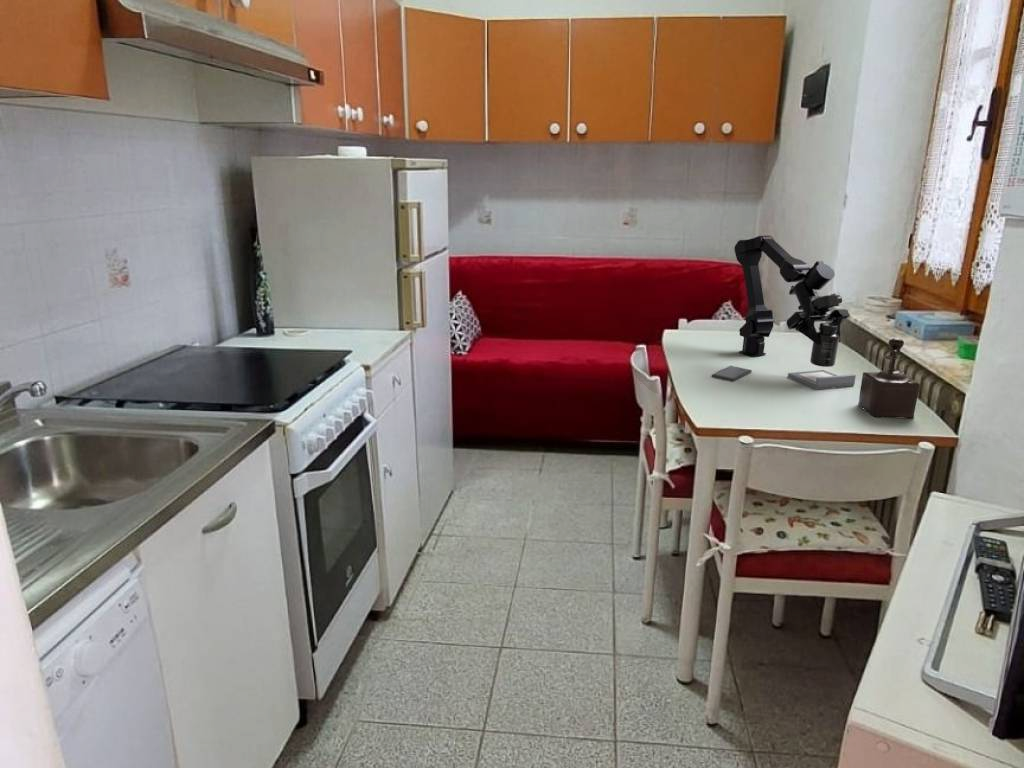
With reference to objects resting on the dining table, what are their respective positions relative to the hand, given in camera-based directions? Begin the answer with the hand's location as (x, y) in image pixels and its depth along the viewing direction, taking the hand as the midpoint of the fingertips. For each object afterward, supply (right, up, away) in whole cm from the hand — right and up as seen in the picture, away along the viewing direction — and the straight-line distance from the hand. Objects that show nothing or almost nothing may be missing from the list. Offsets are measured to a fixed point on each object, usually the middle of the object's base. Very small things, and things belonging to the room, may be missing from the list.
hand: (829, 343), depth 206 cm
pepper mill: (+6, -19, -18) cm, 27 cm away
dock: (-1, -11, +5) cm, 12 cm away
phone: (-25, -9, +10) cm, 29 cm away
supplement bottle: (-1, -6, +3) cm, 7 cm away
